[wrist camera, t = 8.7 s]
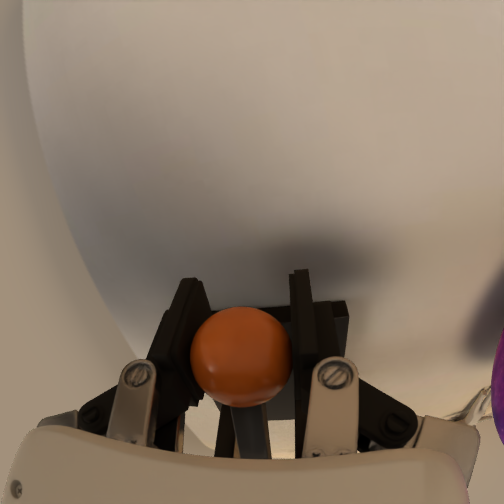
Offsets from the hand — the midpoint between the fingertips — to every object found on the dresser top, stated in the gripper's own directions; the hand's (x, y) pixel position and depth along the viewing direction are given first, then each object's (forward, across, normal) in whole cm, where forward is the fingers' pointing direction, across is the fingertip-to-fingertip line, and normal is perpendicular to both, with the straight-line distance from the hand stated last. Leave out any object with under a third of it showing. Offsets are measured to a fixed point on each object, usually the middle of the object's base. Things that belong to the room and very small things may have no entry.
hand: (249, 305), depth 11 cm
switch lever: (-3, 0, +5) cm, 6 cm away
